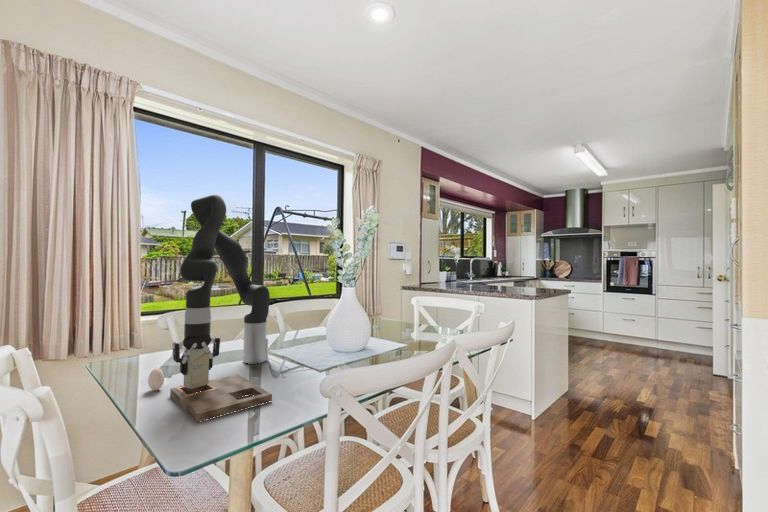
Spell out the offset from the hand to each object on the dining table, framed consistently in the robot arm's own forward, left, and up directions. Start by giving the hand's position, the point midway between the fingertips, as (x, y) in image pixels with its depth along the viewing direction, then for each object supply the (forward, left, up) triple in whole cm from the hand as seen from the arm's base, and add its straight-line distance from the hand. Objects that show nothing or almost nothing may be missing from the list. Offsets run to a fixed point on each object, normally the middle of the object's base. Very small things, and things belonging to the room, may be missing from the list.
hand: (196, 371), depth 119 cm
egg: (+8, -15, -8) cm, 19 cm away
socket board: (-5, +7, -8) cm, 12 cm away
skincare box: (0, 0, -5) cm, 5 cm away
